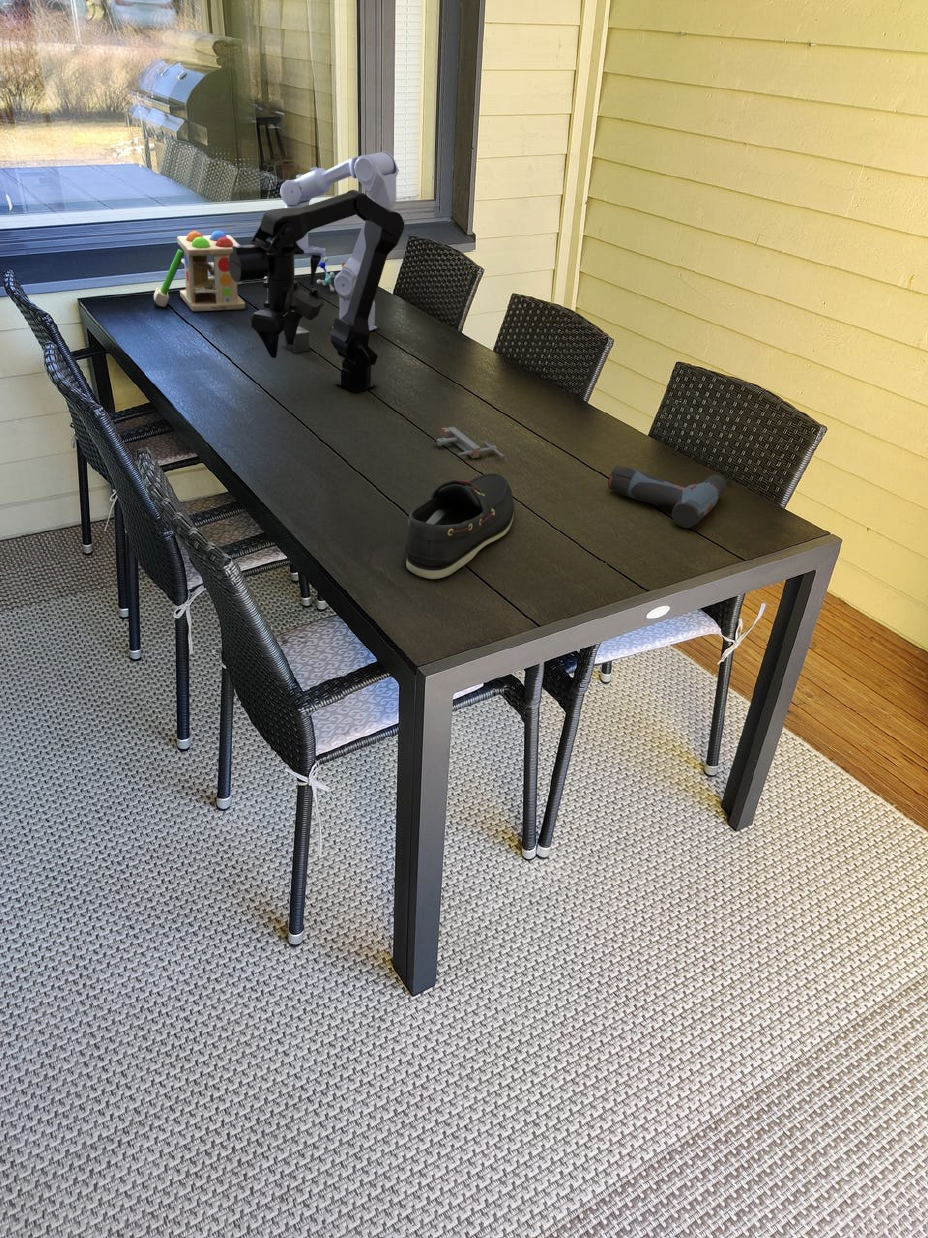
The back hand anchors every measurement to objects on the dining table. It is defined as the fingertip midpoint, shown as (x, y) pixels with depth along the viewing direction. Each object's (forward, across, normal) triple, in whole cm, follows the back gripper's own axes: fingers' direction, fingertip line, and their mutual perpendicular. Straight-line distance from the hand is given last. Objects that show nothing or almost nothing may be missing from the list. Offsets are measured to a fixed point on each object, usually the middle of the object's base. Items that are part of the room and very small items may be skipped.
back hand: (297, 282), depth 261 cm
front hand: (-2, +4, -60) cm, 60 cm away
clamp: (+9, +44, -80) cm, 92 cm away
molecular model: (+8, +6, +28) cm, 30 cm away
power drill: (+9, +82, -96) cm, 127 cm away
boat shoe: (+9, +42, -116) cm, 124 cm away
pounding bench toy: (+8, -28, +3) cm, 29 cm away
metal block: (+8, +3, -27) cm, 28 cm away
